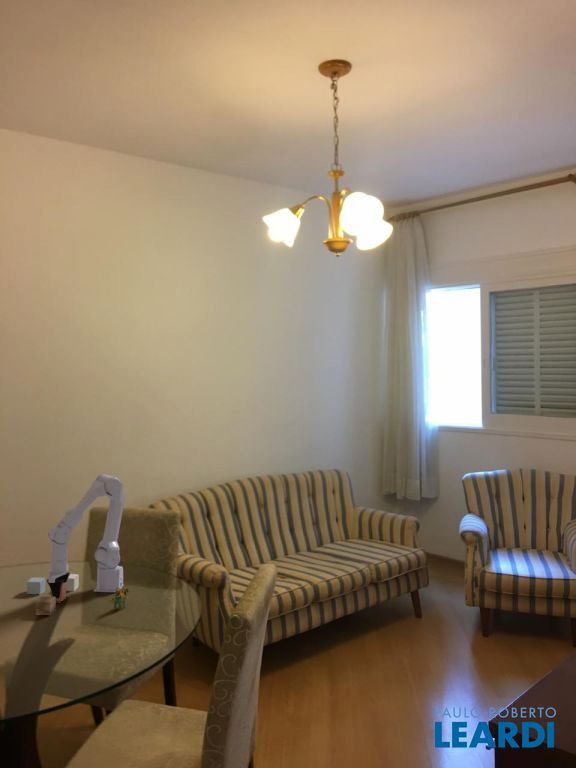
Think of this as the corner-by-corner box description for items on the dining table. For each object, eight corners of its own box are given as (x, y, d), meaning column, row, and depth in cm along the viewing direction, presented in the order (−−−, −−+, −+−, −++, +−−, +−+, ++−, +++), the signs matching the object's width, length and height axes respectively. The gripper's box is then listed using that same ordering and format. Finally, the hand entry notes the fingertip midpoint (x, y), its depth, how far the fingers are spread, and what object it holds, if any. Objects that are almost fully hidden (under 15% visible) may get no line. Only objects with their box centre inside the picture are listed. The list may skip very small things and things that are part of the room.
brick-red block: (65, 598, 237) (65, 582, 237) (61, 602, 233) (62, 586, 233) (54, 598, 237) (55, 582, 237) (50, 602, 233) (51, 585, 233)
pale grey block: (78, 586, 249) (78, 574, 249) (74, 591, 244) (74, 578, 244) (65, 586, 250) (65, 573, 249) (61, 591, 245) (61, 578, 244)
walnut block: (55, 610, 225) (55, 596, 225) (50, 616, 220) (50, 602, 220) (41, 610, 226) (41, 596, 225) (35, 616, 221) (35, 601, 220)
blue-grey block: (45, 590, 245) (45, 577, 244) (40, 595, 240) (40, 582, 239) (32, 590, 245) (32, 577, 244) (26, 595, 240) (26, 581, 239)
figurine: (132, 604, 233) (132, 582, 232) (111, 616, 222) (111, 593, 221) (124, 603, 234) (125, 581, 234) (104, 615, 223) (104, 591, 222)
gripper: (55, 552, 242) (54, 588, 242) (40, 564, 227) (39, 602, 228) (74, 553, 242) (73, 588, 242) (59, 565, 227) (59, 603, 228)
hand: (58, 595), depth 235 cm, fingers closed on brick-red block, 4 cm apart
